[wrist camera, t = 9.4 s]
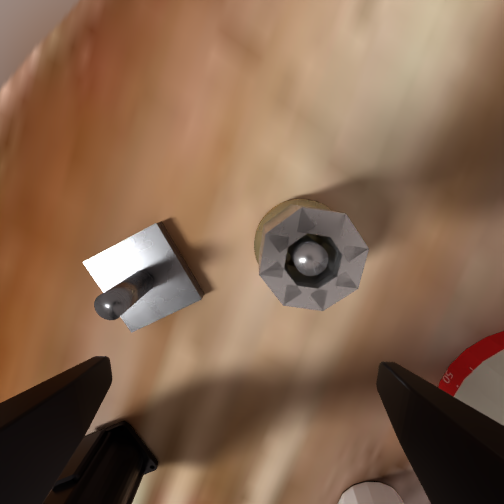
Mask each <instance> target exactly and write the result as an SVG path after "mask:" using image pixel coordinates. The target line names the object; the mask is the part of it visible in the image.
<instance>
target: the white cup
mask: <svg viewBox="0 0 504 504" xmlns="http://www.w3.org/2000/svg"><path fill="white" fill-rule="evenodd" d="M338 504H404V503H403V501H402V499H401V497H400V496H399V495H398V493H397V492H396V491H395V490H394V489H393V488H392V487H390V486H388V485H385V484H383V483H380V482H364V483H360V484H357V485H354V486H352V487H350V488H349V489H348V490H346V491H345V492H344V493H343V494H342V496H341V498H340V500H339V503H338Z"/></svg>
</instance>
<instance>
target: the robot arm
mask: <svg viewBox="0 0 504 504" xmlns="http://www.w3.org/2000/svg"><path fill="white" fill-rule="evenodd" d="M111 383H112V371H111V364H110V359H109V358H108V357H106V356H95V357H93V358H91V359H89V360H87V361H85V362H83V363H81V364H79V365H77V366H74V367H72V368H70V369H68V370H66V371H64V372H62V373H60V374H58V375H56V376H54V377H52V378H50V379H48V380H46V381H44V382H42V383H40V384H38V385H36V386H34V387H32V388H30V389H28V390H26V391H24V392H22V393H20V394H18V395H16V396H14V397H12V398H10V399H8V400H6V401H4V402H2V403H0V504H132V502H133V499H134V497H135V494H136V492H137V490H138V487H139V485H140V482H141V480H142V477H143V475H144V474H147V473H149V472H152V471H155V470H156V469H157V467H158V461H157V460H156V458H155V457H154V456H153V455H152V453H151V452H150V451H149V449H148V448H147V447H146V446H145V444H144V443H143V442H142V440H141V439H140V438H139V436H138V435H137V434H136V433H135V431H134V430H133V429H132V427H131V426H130V425H129V424H128V423H127V422H124V421H123V422H120V423H118V424H115V425H113V426H110V427H108V428H106V429H103V430H100V431H98V432H95V433H93V434H91V435H88V436H86V437H84V436H85V434H86V432H87V430H88V429H89V427H90V425H91V423H92V421H93V419H94V417H95V415H96V413H97V411H98V409H99V407H100V405H101V403H102V401H103V399H104V397H105V396H106V394H107V392H108V390H109V388H110V386H111ZM376 385H377V390H378V393H379V395H380V398H381V400H382V402H383V405H384V407H385V409H386V412H387V414H388V417H389V419H390V421H391V424H392V426H393V429H394V431H395V433H396V436H397V438H398V440H399V442H400V444H401V446H402V448H403V450H404V452H405V454H406V456H407V458H408V460H409V462H410V464H411V466H412V468H413V470H414V472H415V473H416V475H417V477H418V479H419V481H420V483H421V485H422V487H423V489H424V491H425V493H426V495H427V496H428V498H429V500H430V502H431V504H504V426H503V425H502V424H500V423H498V422H496V421H495V420H493V419H491V418H490V417H488V416H486V415H484V414H483V413H481V412H479V411H478V410H476V409H474V408H472V407H471V406H469V405H467V404H465V403H464V402H462V401H460V400H459V399H457V398H455V397H453V396H452V395H450V394H448V393H446V392H445V391H443V390H441V389H440V388H438V387H436V386H434V385H433V384H431V383H429V382H428V381H426V380H424V379H422V378H421V377H419V376H417V375H415V374H414V373H412V372H410V371H409V370H407V369H405V368H403V367H402V366H400V365H398V364H397V363H395V362H381V363H380V364H379V369H378V376H377V383H376ZM50 491H51V492H50Z"/></svg>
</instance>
